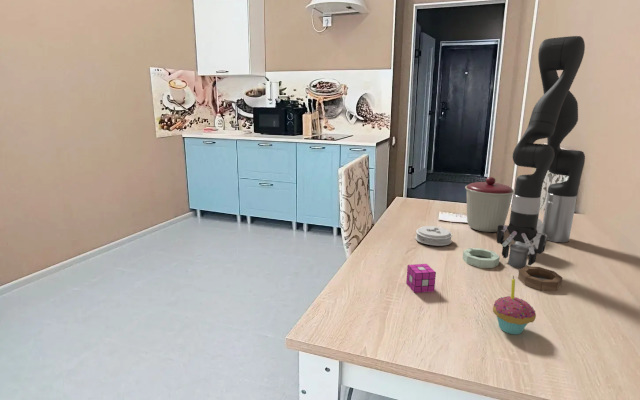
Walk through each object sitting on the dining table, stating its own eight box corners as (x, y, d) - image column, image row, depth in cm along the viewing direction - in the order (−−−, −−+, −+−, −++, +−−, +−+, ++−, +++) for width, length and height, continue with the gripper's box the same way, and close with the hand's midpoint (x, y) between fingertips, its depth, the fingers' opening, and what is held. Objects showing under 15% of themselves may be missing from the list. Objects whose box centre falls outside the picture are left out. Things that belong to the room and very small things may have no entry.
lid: (447, 236, 147) (448, 224, 146) (454, 249, 135) (456, 235, 133) (413, 235, 148) (414, 222, 147) (417, 247, 136) (418, 233, 135)
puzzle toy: (425, 282, 109) (426, 263, 108) (434, 291, 104) (436, 272, 102) (406, 283, 108) (407, 264, 107) (414, 293, 103) (415, 273, 101)
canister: (512, 226, 159) (519, 176, 154) (505, 239, 144) (513, 183, 139) (466, 219, 168) (471, 171, 163) (456, 230, 154) (461, 178, 148)
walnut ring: (526, 271, 117) (528, 263, 116) (564, 282, 110) (565, 274, 109) (513, 281, 110) (515, 273, 109) (552, 294, 103) (554, 285, 102)
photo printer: (527, 247, 136) (533, 213, 133) (540, 251, 133) (545, 217, 130) (511, 253, 131) (516, 218, 128) (523, 257, 127) (529, 221, 124)
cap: (511, 260, 125) (514, 242, 124) (529, 265, 121) (532, 247, 120) (504, 264, 122) (507, 246, 120) (522, 270, 118) (525, 251, 116)
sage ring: (472, 252, 131) (473, 245, 130) (502, 261, 124) (503, 254, 123) (458, 260, 124) (458, 253, 124) (489, 270, 117) (489, 262, 116)
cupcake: (483, 318, 91) (489, 271, 88) (518, 317, 92) (525, 270, 89) (503, 340, 83) (510, 289, 80) (541, 339, 83) (550, 288, 80)
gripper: (555, 212, 115) (546, 264, 119) (505, 203, 125) (499, 251, 129) (546, 217, 110) (538, 271, 114) (495, 207, 120) (489, 257, 124)
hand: (517, 260), depth 121 cm, fingers open, 7 cm apart
